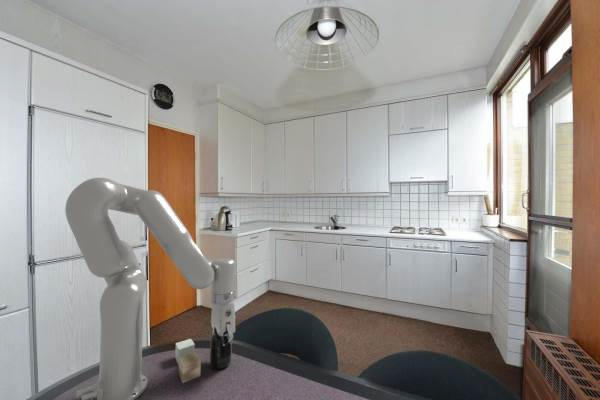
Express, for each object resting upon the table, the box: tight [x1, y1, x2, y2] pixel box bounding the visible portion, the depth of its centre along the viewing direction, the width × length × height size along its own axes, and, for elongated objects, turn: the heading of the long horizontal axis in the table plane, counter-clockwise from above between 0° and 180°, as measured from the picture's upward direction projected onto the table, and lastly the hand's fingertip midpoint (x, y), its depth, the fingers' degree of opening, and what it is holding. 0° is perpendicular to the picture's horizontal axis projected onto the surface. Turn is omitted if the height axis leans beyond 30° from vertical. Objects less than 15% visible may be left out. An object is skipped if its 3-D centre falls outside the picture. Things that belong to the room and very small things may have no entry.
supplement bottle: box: [209, 327, 233, 370], centre depth 80 cm, size 7×7×12 cm
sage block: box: [175, 338, 196, 366], centre depth 83 cm, size 5×5×5 cm
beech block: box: [178, 352, 202, 384], centre depth 75 cm, size 5×5×5 cm
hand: (221, 351), depth 80 cm, fingers closed on supplement bottle, 6 cm apart
